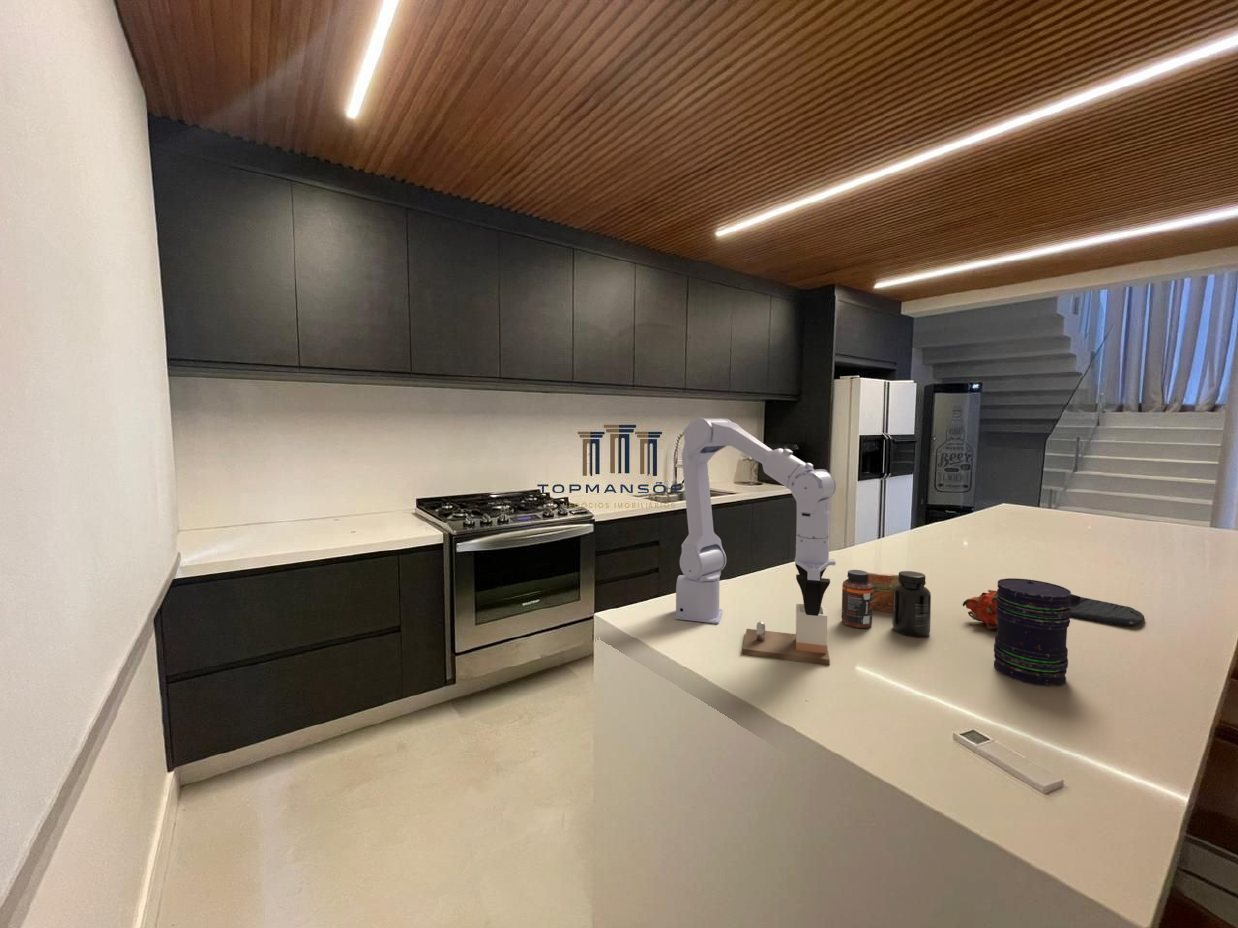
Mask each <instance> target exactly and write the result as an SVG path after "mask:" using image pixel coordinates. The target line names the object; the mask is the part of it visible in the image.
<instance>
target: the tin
mask: <svg viewBox="0 0 1238 928" xmlns="http://www.w3.org/2000/svg"><path fill="white" fill-rule="evenodd" d="M898 576H899V574H889V573H888V574H885V573H873V572H868V578H869V579H868V580H869V582H870V583H871V584H872V585H873V612H880V613H881V612H883V613H889V614H890V613H891V614H892V609H893V588H894V587H895V586H896V585H897V584H899V582H898Z"/></svg>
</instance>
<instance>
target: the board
mask: <svg viewBox="0 0 1238 928" xmlns="http://www.w3.org/2000/svg"><path fill="white" fill-rule="evenodd" d="M756 633H757V629H754V628H753V629H752V628H746V630H745V635H744V636H745V637H744V640H743V646H742V655H746V656H754V657H763V658H771V659H777V660H778V659H779V660H787V661H794V662H800V663H801V662H802V663H809V664H818V665H825V666H830V664H831V663H830V661H831V660H830V654H829V650H828V648H829V647H827V654H825V653H817V652H809V651H800V650H796V633H790V632H789V633H788V632H778V631H771V630H770V631H769V630H765V641H764V642H759V641H757V640H756Z"/></svg>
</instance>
